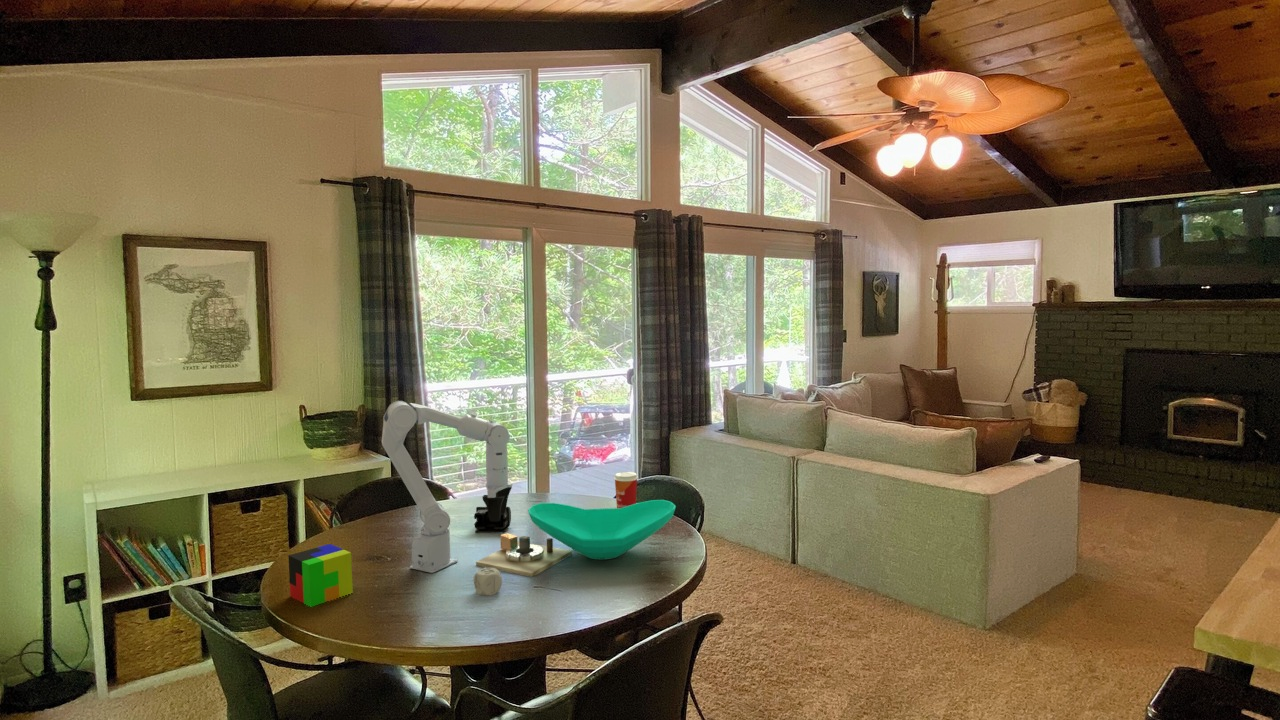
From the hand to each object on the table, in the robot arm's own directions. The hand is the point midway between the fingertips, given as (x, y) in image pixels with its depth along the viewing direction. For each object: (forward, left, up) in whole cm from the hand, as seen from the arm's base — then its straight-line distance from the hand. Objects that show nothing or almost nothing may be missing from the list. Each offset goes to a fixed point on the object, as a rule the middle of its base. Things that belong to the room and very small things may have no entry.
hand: (498, 517), depth 192 cm
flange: (0, -7, -9) cm, 11 cm away
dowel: (+5, -13, -10) cm, 17 cm away
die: (-21, -14, -11) cm, 28 cm away
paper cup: (+45, -15, -11) cm, 48 cm away
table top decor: (+12, -26, -11) cm, 30 cm away
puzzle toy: (-40, +20, -11) cm, 46 cm away
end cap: (+17, +16, -11) cm, 25 cm away
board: (0, -9, -10) cm, 14 cm away
